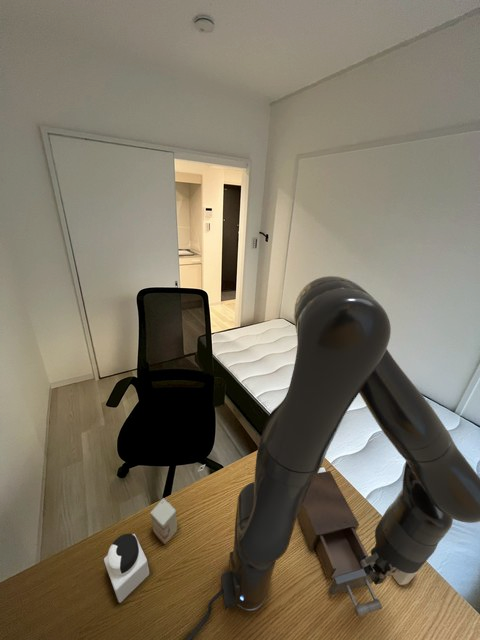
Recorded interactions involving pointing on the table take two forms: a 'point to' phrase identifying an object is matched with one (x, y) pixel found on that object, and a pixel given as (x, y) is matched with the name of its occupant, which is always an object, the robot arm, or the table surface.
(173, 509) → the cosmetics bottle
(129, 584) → the white block with dome
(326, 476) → the cabinet
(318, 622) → the table surface
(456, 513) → the robot arm
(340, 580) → the drawer
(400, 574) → the eye dropper bottle
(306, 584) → the table surface
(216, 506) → the table surface
